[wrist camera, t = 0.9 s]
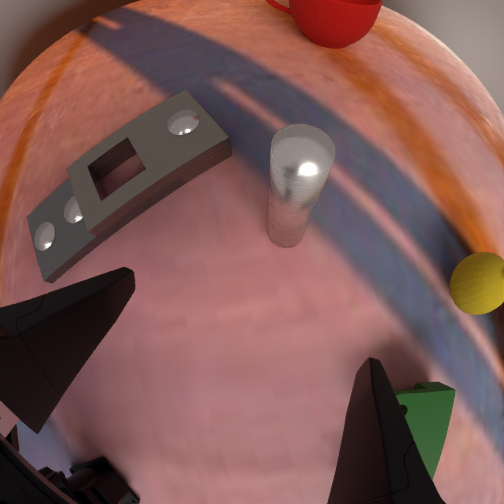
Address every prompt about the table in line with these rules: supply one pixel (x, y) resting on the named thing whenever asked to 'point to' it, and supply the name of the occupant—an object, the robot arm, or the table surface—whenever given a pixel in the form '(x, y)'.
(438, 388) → the clamp
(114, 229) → the plate
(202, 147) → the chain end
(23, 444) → the table surface
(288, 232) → the steel pin
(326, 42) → the ceramic cup
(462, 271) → the lemon
